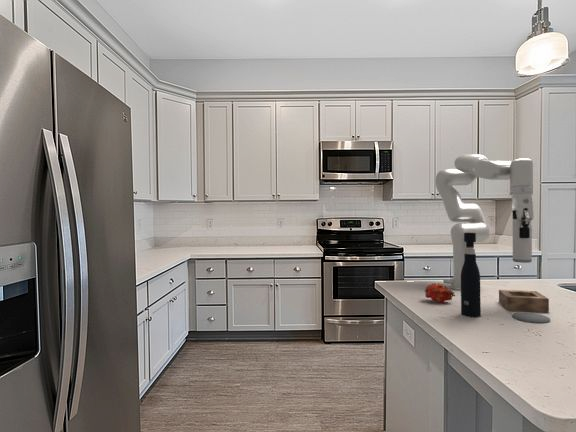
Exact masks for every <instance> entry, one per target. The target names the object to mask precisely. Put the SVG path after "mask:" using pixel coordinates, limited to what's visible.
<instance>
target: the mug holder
mask: <svg viewBox="0 0 576 432" xmlns="http://www.w3.org/2000/svg"><path fill="white" fill-rule="evenodd" d="M549 300H550V299H549V298H548V297H547V296H546V295H544V294H542V293H540V292H539V291H536V290H514V289H513V290H511V289H498V302H499V303H500V304H501V305H502V307H504V308H505V310H507V311H517V312H533V313H534V312H537V313H539V312H540V313H550V312H549V311H550V306H549V305H550V303H549V302H550V301H549Z"/></svg>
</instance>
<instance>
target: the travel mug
mask: <svg viewBox="0 0 576 432" xmlns="http://www.w3.org/2000/svg"><path fill="white" fill-rule="evenodd" d="M512 212H513V218H512V261H513V262H514V263H523V264H524V263H525V264H526V263H527V264H529V263H532V262H533V259H532V257H533V255H532V253H533V246H532V245H533V240H532V239H533V237H532V235H533V233H532V232H533V230H532V226H533V225H532V223H533V222H532V221H533V220H531V219H530V221H529V222H530V223H529V225H530V227H529V228H530V237H529V238H520V237H519V228H521V227H520V220H518V219H517V216H516V211H515V210H513V211H512V210H511V213H512ZM522 219H525V218H522ZM522 223H523V222H522Z"/></svg>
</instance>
